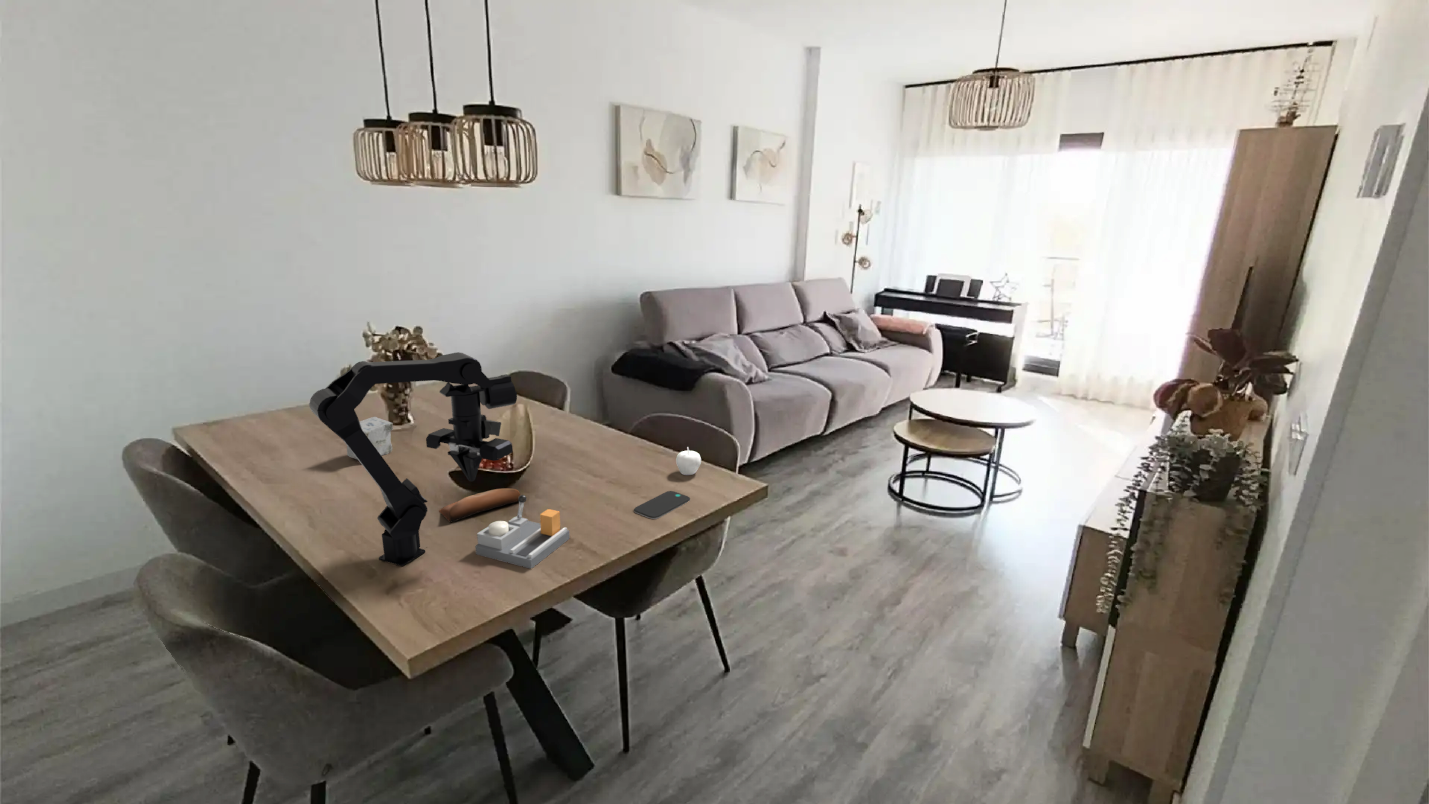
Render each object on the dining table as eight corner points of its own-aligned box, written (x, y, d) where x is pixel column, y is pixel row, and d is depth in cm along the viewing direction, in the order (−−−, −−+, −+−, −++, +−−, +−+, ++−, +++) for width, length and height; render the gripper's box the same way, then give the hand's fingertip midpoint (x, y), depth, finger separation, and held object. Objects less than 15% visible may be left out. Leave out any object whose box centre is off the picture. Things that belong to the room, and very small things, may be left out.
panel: (531, 568, 134) (530, 549, 133) (475, 554, 139) (474, 535, 138) (569, 538, 147) (569, 520, 145) (517, 525, 151) (516, 508, 150)
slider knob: (552, 536, 143) (551, 517, 141) (540, 533, 144) (540, 514, 142) (560, 530, 145) (559, 511, 144) (548, 527, 146) (548, 508, 145)
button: (500, 544, 138) (500, 531, 137) (485, 540, 140) (484, 527, 139) (512, 535, 142) (512, 523, 141) (497, 531, 143) (496, 519, 142)
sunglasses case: (506, 490, 169) (511, 474, 165) (518, 511, 166) (523, 495, 162) (435, 510, 157) (439, 493, 153) (447, 533, 154) (451, 517, 150)
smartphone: (692, 497, 168) (654, 518, 156) (692, 500, 168) (654, 521, 157) (669, 489, 172) (630, 509, 161) (669, 492, 173) (630, 512, 161)
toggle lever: (519, 519, 147) (523, 495, 147) (513, 517, 148) (517, 494, 148) (524, 518, 149) (528, 495, 149) (518, 517, 150) (522, 494, 150)
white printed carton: (369, 465, 182) (364, 429, 179) (346, 459, 185) (342, 425, 182) (397, 453, 191) (393, 419, 188) (375, 448, 194) (371, 415, 191)
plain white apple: (670, 474, 183) (671, 447, 181) (683, 466, 189) (684, 440, 187) (692, 479, 180) (693, 452, 178) (704, 471, 186) (705, 445, 184)
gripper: (526, 408, 143) (530, 474, 147) (458, 397, 149) (463, 460, 154) (493, 423, 133) (497, 493, 137) (421, 410, 139) (427, 478, 144)
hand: (471, 480), depth 143 cm, fingers closed
